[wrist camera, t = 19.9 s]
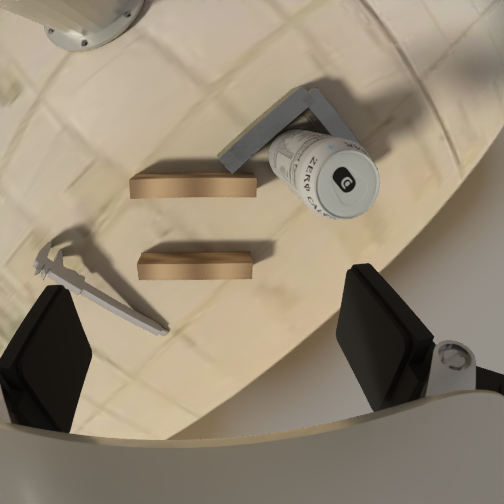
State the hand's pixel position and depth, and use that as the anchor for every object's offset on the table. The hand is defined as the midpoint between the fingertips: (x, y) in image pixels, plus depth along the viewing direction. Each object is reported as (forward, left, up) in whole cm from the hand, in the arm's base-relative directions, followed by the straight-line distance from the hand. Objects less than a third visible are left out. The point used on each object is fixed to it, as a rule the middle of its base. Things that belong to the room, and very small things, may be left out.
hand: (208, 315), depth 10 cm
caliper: (+15, -14, -26) cm, 33 cm away
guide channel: (+6, -2, -26) cm, 26 cm away
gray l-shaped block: (-5, +9, -26) cm, 28 cm away
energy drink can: (-2, +9, -26) cm, 27 cm away
